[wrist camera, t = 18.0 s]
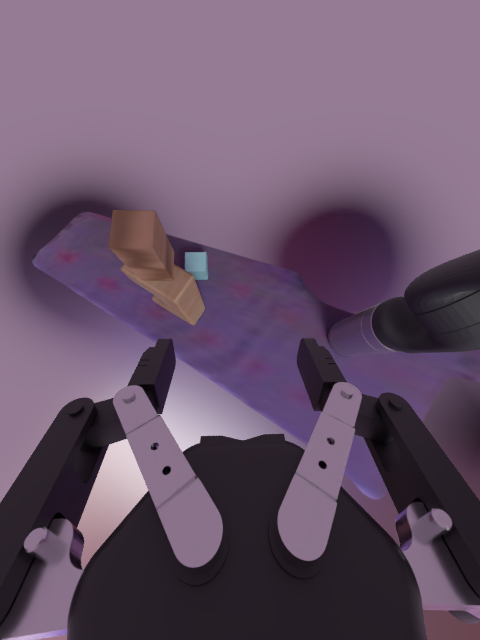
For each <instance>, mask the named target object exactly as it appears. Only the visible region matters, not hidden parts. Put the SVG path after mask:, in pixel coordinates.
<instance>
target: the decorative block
mask: <svg viewBox="0 0 480 640" xmlns="http://www.w3.org/2000/svg"><path fill="white" fill-rule="evenodd" d="M121 271H122V272H123V273H125V274H126V275H127V276H128V277H129V278H130V279H131V280H132V281H134V282H135V283H137V284H139V285H140V286H142V287H143V288H145V289H146V290H148V291H149V292H150V293H152V294H153V296H152V299H153V300H154V301H155V302H156V303H157V304H158V305H160V306H162V307H163V308H165V309H166V310H168V311H170V312H171V313H173V314H175V315H176V316H178V317H180V318H181V319H183V320H185V321H186V322H188V323H189V324H191V325H195V324H196V322H197V321H198V319H199V318H200V316H201V315H202V313H203V312H204V310H205V306H204V303H203V300H202V298H201V295H200V292H199V290H198V287H197V284H196V281H195V279H194V276H193V275H192V274H190V273H189V272H187V271H185V270H184V269H182V268H180V267H179V266H177V265H175V264H174V272H173V281H141V280H140V279H139V278H138V277H137V276H136V275H135V274H134V273H133V272H132V271H131V270H130V269H129V268H128V267H127V266H126V265H125V264H123V265H122V267H121Z"/></svg>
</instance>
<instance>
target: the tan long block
mask: <svg viewBox="0 0 480 640" xmlns="http://www.w3.org/2000/svg"><path fill="white" fill-rule="evenodd" d="M109 248H110V249H111V250H112V251H113V252H114V253H115V254H116V255H117V256H118V257H119V258H120V259H121V260H122V262H123V263H124V264H125V265H126V266H127V267H128V268H129V269H130V270H131V271H132V272H133V273H134V274H135V275H136V276H137V277H138V278H139V279H140V280H141V281H173V272H174V251H173V248H172V246H171V244H170V242H169V240H168V237H167V235H166V233H165V231H164V229H163V227H162V224H161V222H160V220H159V218H158V216H157V214H156V212H155V211H144V210H113V215H112V223H111V232H110V240H109Z"/></svg>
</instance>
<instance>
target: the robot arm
mask: <svg viewBox="0 0 480 640" xmlns="http://www.w3.org/2000/svg"><path fill="white" fill-rule="evenodd" d="M328 340H329V344H330V346H331V347H332V349H333V350H334V351H335V352H336V353H337V354H339V355H341V356H345V357H353V356H364V355H374V354H384V353H393V352H406V353H438V352H465V351H473V350H480V250H477V251H475V252H472V253H469V254H466V255H463V256H461V257H458V258H456V259H453V260H450V261H448V262H446V263H443V264H441V265H439V266H436V267H434V268H433V269H430V270H428V271H427V272H425V273H423V274H422V275H420V276H419V277H417V278H416V279H415V280H414V281H413V282H411V283H410V285H409V286H408V287H407V289H406V290H405V294H404V297H396V298H392V299H389V300H387V301H385V302H382V303H380V304H378V305H376V306H373V307H371V308H369V309H366V310H364V311H362V312H359V313H357V314H355V315H352V316H350V317H348V318H345V319H343V320H341V321H338V322H336V323H335V324H333V325H332V327H331V328H330V330H329V334H328ZM175 362H176V360H175V352H174V347H173V341H172V339H158V341H157V343H156V346H155V347H150V348H148V349H147V350H146V351H145V352H144V353H143V355H142V357H141V359H140V361H139V363H138V366H137V367H136V369H135V372H134V374H133V375H132V377H131V379H130V382H129V384H128V386H127V387H125V388H123V389H121V390H120V391H118V392H117V393H116V395H115V396H114V398H112V399H109V400H105V401H101V402H97V403H94V402H93V401H92V400H91V399H90V398H79V399H76V400H73V401H72V402H70V403H68V404H67V405H65V406H64V407H63V408H62V409H61V411H60V412H59V414H58V415H57V417H56V418H55V420H54V421H53V423H52V424H51V426H50V428H49V429H48V431H47V432H46V434H45V435H44V437H43V438H42V440H41V441H40V443H39V444H38V446H37V447H36V449H35V451H34V452H33V454H32V455H31V457H30V458H29V460H28V461H27V463H26V464H25V466H24V468H23V469H22V471H21V472H20V474H19V475H18V477H17V478H16V480H15V482H14V483H13V485H12V486H11V488H10V489H9V491H8V492H7V494H6V495H5V497H4V498H3V500H2V501H1V503H0V640H38V639H44V638H50V637H56V636H62V635H67V640H427V636H426V630H425V625H424V617H423V609H424V610H448V611H449V612H450V613H451V614H452V615H453V616H455V617H456V618H457V619H459V620H460V621H463V622H465V623H469V624H473V623H479V622H480V501H479V500H478V498H477V497H476V495H475V494H474V493H473V492H472V490H471V489H470V487H469V486H468V485H467V483H466V482H465V481H464V479H463V477H462V476H461V475H460V473H459V472H458V471H457V469H456V468H455V466H454V465H453V464H452V462H450V460H449V458H448V457H447V455H446V454H445V453H444V451H443V450H442V449H441V447H440V446H439V445H438V443H437V442H436V440H435V439H434V438H433V436H432V435H431V434H430V432H429V431H428V429H427V428H426V427H425V425H424V424H423V423H422V421H421V420H420V418H419V417H418V416H417V414H416V413H415V412H414V410H413V409H412V407H411V406H410V405H409V403H408V402H407V401H406V400H404V399H403V398H402V397H400V396H398V395H396V394H393V393H383V394H381V395H380V397H379V398H375V397H371V396H367V395H363V394H361V393H360V391H359V390H358V389H357V388H356V387H355V386H353V385H351V384H349V383H347V382H346V380H345V378H344V376H343V375H342V373H341V371H340V370H339V368H338V366H337V364H336V363H335V361H334V359H333V357H332V356H331V354H330V352H329V351H328V350H326V349H325V348H324V347H323V346H318V344H317V342H316V340H315V339H314V338H302V339H301V341H300V346H299V350H298V355H297V366H298V369H299V371H300V374H301V377H302V380H303V382H304V385H305V388H306V390H307V393H308V396H309V399H310V401H311V404H312V407H313V409H314V411H321V412H322V413H321V415H320V417H319V420H318V422H317V424H316V426H315V429H314V431H313V433H312V436H311V438H310V440H309V443H308V445H307V447H306V450H303V449H302V448H301V447H299V446H297V445H295V444H293V443H291V442H288V441H285V437H284V434H265V435H261V436H257V437H254V438H251V439H247V440H238V439H233V438H229V437H225V436H201V440H200V443H199V444H196V445H194V446H191V447H190V448H188V449H186V450H185V451H184V452H182V451H181V450H180V448H179V446H178V444H177V443H176V441H175V439H174V437H173V436H172V434H171V433H170V431H169V429H168V427H167V426H166V424H165V422H164V420H163V419H162V417H161V416H160V415H158V414H162V412H163V408H164V405H165V401H166V398H167V394H168V390H169V387H170V383H171V380H172V376H173V373H174V369H175ZM354 434H355V435H358V436H362V437H364V439H365V442H366V444H367V446H368V448H369V450H370V453H371V455H372V457H373V459H374V461H375V463H376V466H377V468H378V470H379V472H380V474H381V476H382V479H383V481H384V483H385V485H386V487H387V490H388V492H389V494H390V496H391V498H392V500H393V502H394V505H395V507H396V509H397V511H398V513H399V515H398V516H397V517H396V520H395V528H396V532H397V535H398V538H399V546H398V544H397V543H396V542H395V541H394V540H393V538H392V537H391V536H390V535H389V534H388V533H387V532H386V531H385V530H384V529H383V528H382V527H381V526H380V525H379V524H378V523H377V522H376V521H375V520H374V519H373V518H372V517H371V516H370V515H369V514H368V513H367V512H366V511H365V510H364V509H363V508H362V507H361V506H360V505H359V504H358V503H357V502H356V501H355V500H354V499H353V498H352V497H351V496H350V495H349V494H348V493H347V492H346V491H345V490H344V489H343V488H342V487H341V482H342V479H343V475H344V471H345V467H346V464H347V460H348V456H349V452H350V448H351V445H352V441H353V437H354ZM124 439H128V441H129V444H130V446H131V449H132V451H133V453H134V456H135V458H136V461H137V463H138V466H139V468H140V471H141V473H142V475H143V478H144V480H145V483H146V485H147V488H148V490H149V491H148V492H147V493H146V494H145V495H144V497H143V498H142V499H141V500H140V501H139V502H138V504H137V505H136V506H135V507H134V508H133V509H132V511H131V512H130V513H129V514H128V515H127V516H126V517H125V519H124V520H123V521H122V522H121V523H120V524H119V526H118V527H117V528H116V529H115V530H114V532H113V533H112V534H111V535H110V536H109V537H108V538H107V540H106V541H105V542H104V543H103V544H102V546H101V547H100V548H99V549H98V550H97V552H96V553H95V554H94V555H93V557H92V558H91V559H90V561H89V563H88V564H87V566H86V567H85V569H84V570H83V569H82V566H81V557H82V552H83V547H84V537H83V534H82V533H81V532H80V531H79V530H78V529H77V526H78V524H79V521H80V518H81V516H82V513H83V511H84V508H85V505H86V503H87V500H88V498H89V495H90V493H91V490H92V487H93V484H94V482H95V479H96V477H97V474H98V471H99V469H100V466H101V464H102V461H103V459H104V456H105V453H106V451H107V448H108V446H109V444H112V443H115V442H118V441H121V440H124Z"/></svg>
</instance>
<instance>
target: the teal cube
mask: <svg viewBox="0 0 480 640" xmlns="http://www.w3.org/2000/svg"><path fill="white" fill-rule="evenodd" d="M185 271H187V272H189V273H190V274H192V275H193V276H194V279H195V280H208V260H207V254H206V252H185Z"/></svg>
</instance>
